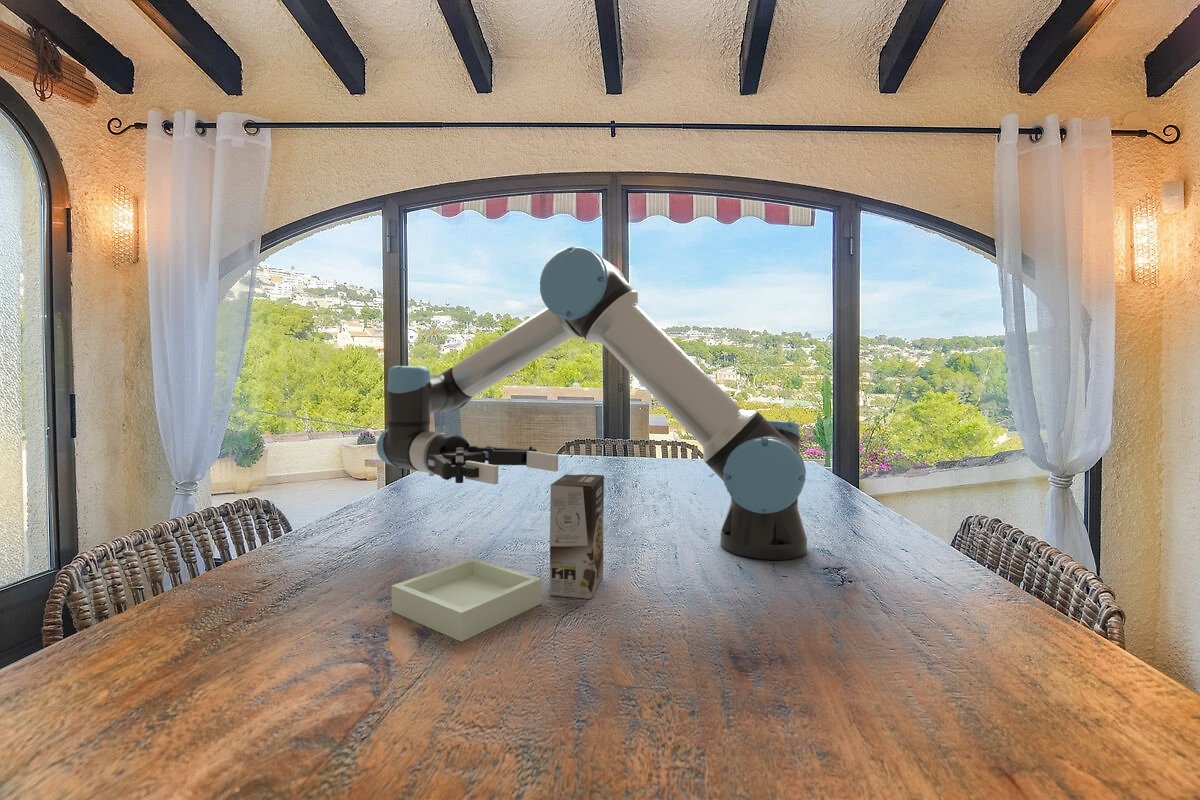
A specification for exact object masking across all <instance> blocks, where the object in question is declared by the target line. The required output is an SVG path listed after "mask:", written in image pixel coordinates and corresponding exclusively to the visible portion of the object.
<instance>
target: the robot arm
mask: <svg viewBox="0 0 1200 800" xmlns="http://www.w3.org/2000/svg"><path fill="white" fill-rule="evenodd" d="M540 275H541V276H540V277H539V279H540V280H539V293H540V296H541V299H542V302H543V303H544V305H545V306H546V307H545V308H543V309H541V310H540V311H538V312H537V313H535V314H533V315H531V316H529V317H528V318H527V319H525V320H523V321H522V322H521V323H519V324H517V325H516V326H514V327H513V328H511V329H510V330H508V331H506V332H505V333H504V334H502V335H500V336H499V337H497V338H495V339H494V340H492V341H490V343H488V344H486V345H485V346H483V347H481V348H479V349H478V350H477V351H475V352H473V353H472V354H471V355H470V354H469V355H468V356H467V357H465V358H464V359H462V360H460V362H457V363H456V364H454V365H453V366H451V367H450V368H448V369H447V370H445V371H444V372H442V373H440V374H438V375H436V374H435V375H434V374H433V375H431V373H430V372H431V371H430V369H429V368H428V366H424V365H394V366H391V367H389V369H388V374H387V375H388V377H387V378H388V379H387V380H388V381H387V385H386V386H387V387H386V390H387V420H388V421H387V428H386V429H385V430H384V431H383V430H382V432H381V434H380V435H379V438H378V440H377V441H376V452H377V455H378V457H379V458H380V460H381V461H382V462H384V463H385V464H387V465H390V466H393V467H395V468H399V469H402V470H403V469H406V470H410V471H411V470H412V471H416V472H422V473H428V475H429V477H434V476H435V475H436V476H439V477H440V478H442V479H443V480H445V481H448V480H451V479H452V478H455V479H454V481H455V483H456V484H463V483H464V479H465V480H470V481H475V482H479V483H486V484H490V485H497V484H499V466H526V467H527V468H530V469H531V468H532V469H537V470H538V469H539V470H542V471H543V470H544V471H549V472H558V471H559V454H552V453H547V452H539V451H538V449H537V448H533V447H534V446H533V445H532V446H529V447H528V448H519V447H518V448H512V447H496V446H490V445H487V446H484V447H483V446H482V447H480V446H477V445H470V443H469V442H468V440H467V439H466V438H465V437H463V436H462V435H459V434H452V433H445V432H438V431H432V430H431V431H430V424H431V414H432V413H442V412H455V411H458V410H459V409H462V408H465V407H466V406H468V404H469V403H470V402H471V400H472V398H474V397H475V396H477V395H479V394H480V393H481V392H483V391H485V390H487V389H488V388H491V387H492V386H494V385H495V384H497V383H499V382H500V381H502V380H503V379H505V378H506V377H508V376H510V375H512V374H513V373H515V372H517V371H518V370H520V369H522V368H523V367H524V366H526V365H529V364H530V363H531V362H533V361H534V360H536V359H538V358H540V357H542V356H543V355H545V354H546V353H548V352H550V351H551V350H553V349H555V348H556V347H558V346H560V345H561V344H563V343H565V342H566V341H568V340H569V339H572V338H573V337H574V338H578V339H581V338H583V339H585V340H586V342H587V343H588V344H589V343H591V344H592V343H594V344H595V343H599V344H602V345H603V346H604V348H605V349H607V350H608V352H610V353H611V355H612V356H613V357H615V358H616V359H617V360H618V361H619V362H620V364H622V366H623V367H625V369H626V370H628V372H629V373H630V374H631V375H632V376H633V377H634V378H635V379H636V380H637V381H638V382H639V383H640V384H641V385H642V386H643V387H644V388H645V389H646V390H647V391H648V392H649V393H650V395H652V396H653V397H654V398H655V399H656V400H657V401H658V403H660V404H661V405H662V406H663V407H664V408H665V410H667V411H668V413H670V415H671V416H672V417H673V418H674V419H676V421H678V423H679V424H680V425H681V426H682V427H683V428H684V429H685V430H686V431H687V432H688V433H689V434H690V435H691V436H692V437H693V438H694V439H695V440H696V441H697V442H698V443H699V444H700V445H701V447H702V449H703V450H702V451H703V452H702V453H703V457H702V459H703V462H704V463H705V464H706V465H707V466H708V467H709V468H710V469H711V470H712V471H713V472H714V473H715V475H716V476H718V477H719V479H721V480H722V481H723V484H724V487H725V488H726V491H727V492H728V493H729V496H730V505H729V508H728V511H727V513H726V516H725V518H724V522H723V523H722V528H721V529H720V539H719V541H720V546H721V547H722V549H724V550H726V551H728V552H729V553H732V554H735V555H739V556H742V557H746V558H749V559H758V560H769V561H770V560H771V561H781V560H786V561H787V560H793V559H797V558H801V557H803V556H805V555H806V554H807V552H808V537H807V534H806V531H805V528H804V524H803V521H802V518H801V514H800V511H799V507H798V506H799V505H798V502H799V501H798V499H799V497H800V495H801V493H802V492H803V488H804V485H805V483H806V474H807V471H806V465H805V462H804V459H803V457H802V456H801V454H800V442H801V434H800V427H799V424H798V423H796V422H794V421H793V422H792V421H784V420H768V419H766V418H765V417H764V416H763V415H762V414H761V413H760V412H759V411H758V410H755V409H752V410H751V409H743V408H741V407H740V406H739V404H738V403H736V402H735V401H734V400H733V399H732V398H731V397H730V396H729V395H728V394H727V393H726V392H725V391H724V390H723V389H722V388H721V387H720V385H718V384H717V383H716V382H715V381H714V380H713V379H712V378H711V377H710V376H709V375H708V374H707V373H706V372H705V371H704V370H703V369H702V368H700V366H699V365H698V364H697V363H696V362H695V361H694V360H693V359H692V358H691V357H690V356H689V355H688V354H687V353H685V352H684V350H683V349H682V348H681V347H680V346H679V345H677V344H676V342H674V341H673V339H671V337H670V336H668V335H667V334H666V332H665V331H664V330H662V329H661V327H660V326H659V325H658V324H657V323H655V322H654V321H653V319H652V318H651V317H650V316H649V315H648V314H647V313H646V312H644V311H643V310H642V309H641V308H640V307H639V297H638V296H639V293H638V291H636V290H635V288H633V286H632V285H631V284H630V283H628V282H627V281H626V278H625V276H624V274H623V273H622V272H621V271H620V269H619V268H618V267H617V266H616V265H614V264H612V263H611V262H610V261H607V259H605V258H603V257H602V256H601V255H600V254H599V253H597V252H596V251H595V250H593V249H590V248H585V247H581V246H570V247H565V248H563V249H561V250H559V251H558V252H556V253H555V254H553V255H552V256H551V257H550V258H549V260H548V261H547V262H546V264H545V265H544V267H543V269H542V272H541V274H540ZM486 461H487V462H488V463H486Z"/></svg>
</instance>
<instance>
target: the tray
mask: <svg viewBox="0 0 1200 800" xmlns="http://www.w3.org/2000/svg"><path fill="white" fill-rule="evenodd" d="M542 584H543V583H542V578H540V577H538V576H535V575H531V574H528V573H524V572H521V571H518V570H514V569H512V568H509V567H508V568H507V567H504V566H501V565H497V564H496V563H490V562H488V561H486V560H485V561H484V560H481V559H478V558H475V557H471V558H469V559H466V560H462V561H460V562H457V563H453V564H451V565H447V566H445V567H442V568H439V569H437V570H433V571H430V572H428V573H425V574H421V575H419V576H416V577H412V578H410V579H406V580H404V581H401V582H398V583H394V584H393V585H391V612H392V613H394V614H397V615H399V616H402V617H404V618H406V619H408V620H410V621H413V622H415V623H417V624H420V625H422V626H425V627H426V628H429V629H431V630H434V631H436V632H439V633H441V634H443V635H445V636H448V637H449V638H451V639H454V640H456V641H459V642H461V643H462V642H464V641H467V640H468V639H470V638H473V637H475V636H476V635H478V634H480V633H481V634H482V632H485V631H487V630H490V629H491V628H493V627H495V626H498V625H500V624H502V623H503V622H506V621H508V620H510V619H512V618H514V617H517V616H518V615H521V614H522V613H525V612H526V611H528V610H530V609H533V608H536V607H537V606H540V605H542V600H543V599H542V598H543V597H542V595H543V594H542V589H543V588H542V587H543V586H542Z"/></svg>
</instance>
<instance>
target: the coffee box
mask: <svg viewBox="0 0 1200 800" xmlns="http://www.w3.org/2000/svg"><path fill="white" fill-rule="evenodd" d="M604 486H605V475H603V474H564V475H563V476H561V477H560V478H559V479H557V480H556V481H554V482H552V483H551V484H550V502H549V503H550V505H549V508H550V509H549V510H550V511H549V513H550V514H549V519H550V522H549V524H550V525H549V595H550V596H557V597H566V598H567V597H568V598H577V599H587V600H589V599H590V600H591V599H592V597H593V596H594V593H595V592H596V591H597V589H598V587H599V585H600V583H601V581H602V579H604V534H605V533H604V531H605V529H604V521H605V520H604V518H605V517H604V515H605V514H604V513H605V512H604V510H605V509H604V508H605V507H604V506H605V505H604V504H605V499H604V497H605V496H604V495H605V487H604Z"/></svg>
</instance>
